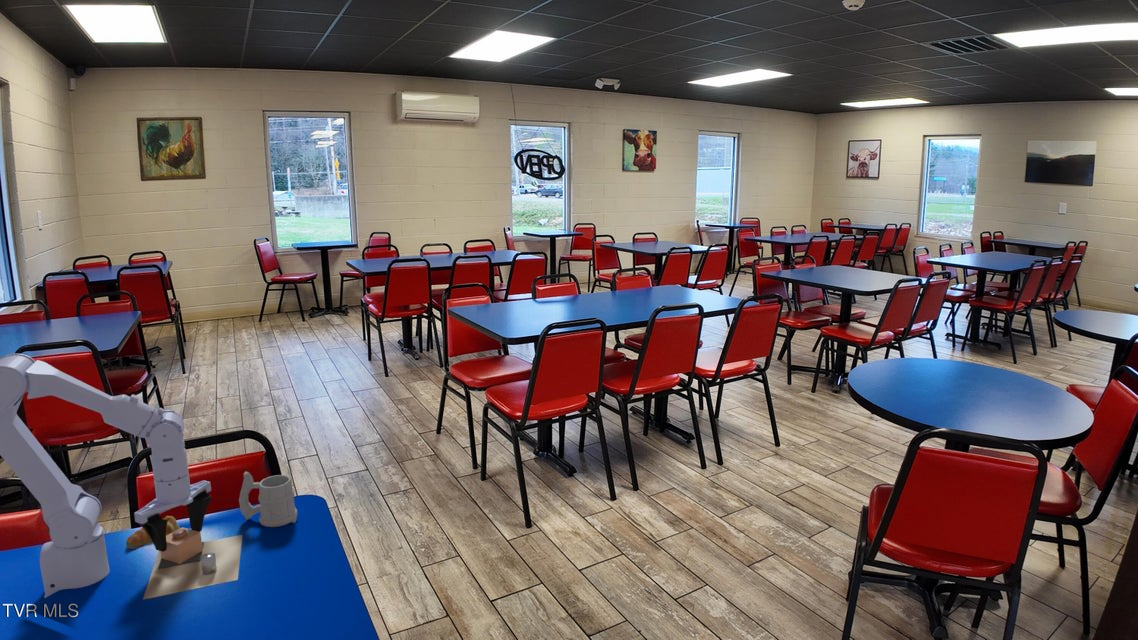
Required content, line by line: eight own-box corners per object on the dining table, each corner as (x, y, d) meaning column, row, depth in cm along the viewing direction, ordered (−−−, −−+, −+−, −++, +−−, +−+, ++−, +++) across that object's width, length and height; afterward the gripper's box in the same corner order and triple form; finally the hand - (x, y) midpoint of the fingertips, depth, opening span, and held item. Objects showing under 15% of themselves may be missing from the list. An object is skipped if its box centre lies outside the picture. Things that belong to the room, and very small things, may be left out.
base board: (143, 604, 117) (142, 599, 116) (159, 554, 132) (159, 550, 132) (238, 584, 122) (237, 579, 122) (242, 539, 138) (242, 534, 137)
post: (201, 576, 123) (199, 560, 122) (203, 569, 125) (201, 554, 125) (216, 573, 124) (214, 557, 123) (217, 566, 126) (215, 551, 125)
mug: (291, 531, 141) (286, 479, 138) (234, 533, 140) (228, 480, 137) (303, 513, 148) (298, 463, 146) (248, 515, 147) (243, 465, 145)
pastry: (135, 556, 132) (132, 538, 131) (120, 545, 136) (118, 528, 135) (184, 535, 139) (182, 519, 138) (169, 526, 143) (167, 510, 142)
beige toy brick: (179, 563, 126) (176, 541, 125) (161, 558, 128) (158, 535, 127) (202, 550, 131) (199, 528, 130) (184, 545, 133) (181, 523, 132)
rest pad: (158, 569, 125) (158, 567, 125) (164, 550, 132) (164, 549, 131) (200, 561, 128) (200, 559, 128) (204, 543, 134) (204, 541, 134)
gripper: (150, 495, 118) (159, 563, 121) (219, 464, 131) (225, 526, 134) (123, 488, 121) (132, 555, 123) (193, 458, 134) (200, 519, 137)
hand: (179, 539), depth 129 cm, fingers open, 7 cm apart
